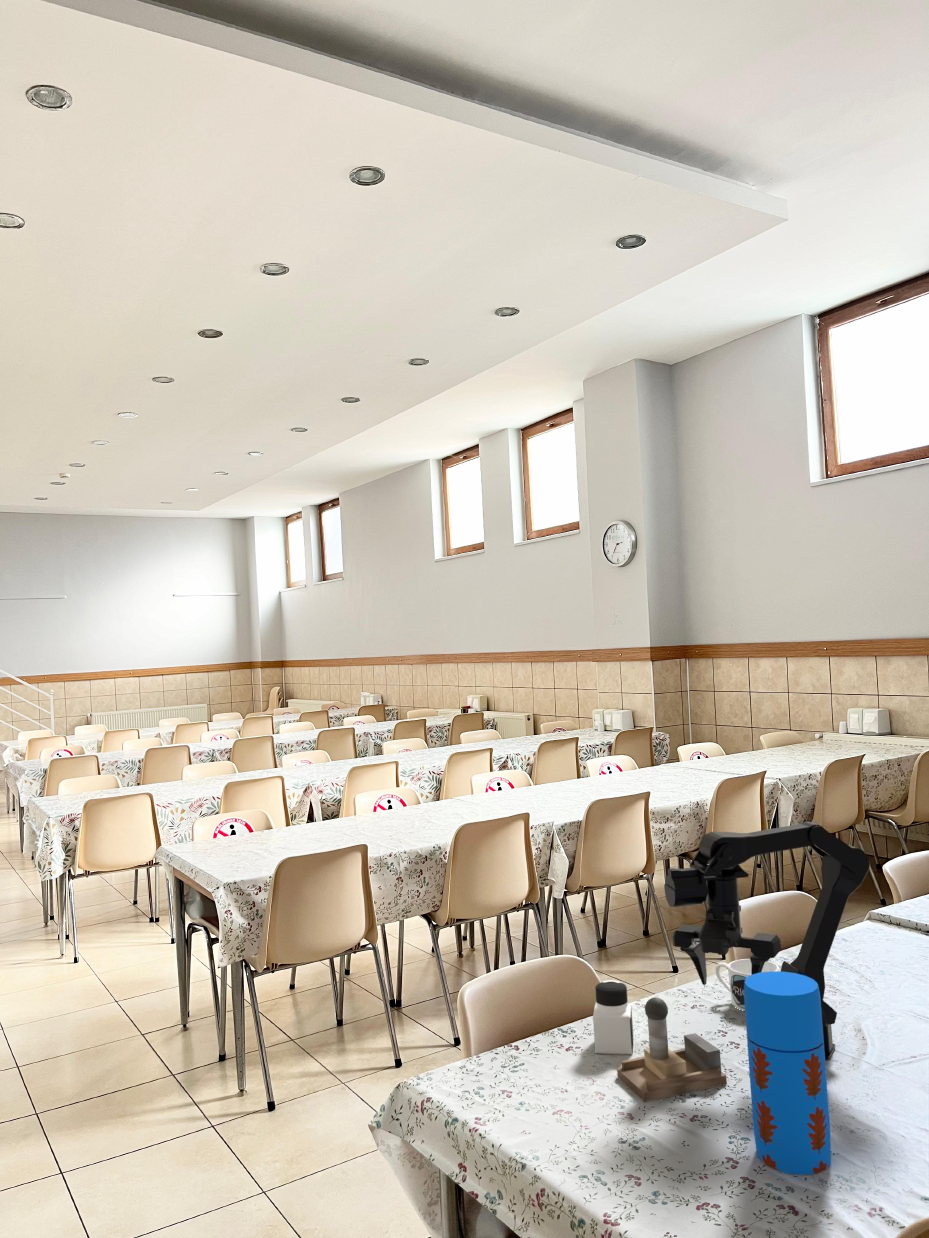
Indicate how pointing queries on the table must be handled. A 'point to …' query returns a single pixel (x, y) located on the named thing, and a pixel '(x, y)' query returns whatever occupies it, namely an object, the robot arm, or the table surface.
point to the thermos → (787, 1072)
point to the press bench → (700, 1075)
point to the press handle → (660, 1043)
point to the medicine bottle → (612, 1019)
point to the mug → (740, 978)
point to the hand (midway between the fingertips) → (728, 987)
